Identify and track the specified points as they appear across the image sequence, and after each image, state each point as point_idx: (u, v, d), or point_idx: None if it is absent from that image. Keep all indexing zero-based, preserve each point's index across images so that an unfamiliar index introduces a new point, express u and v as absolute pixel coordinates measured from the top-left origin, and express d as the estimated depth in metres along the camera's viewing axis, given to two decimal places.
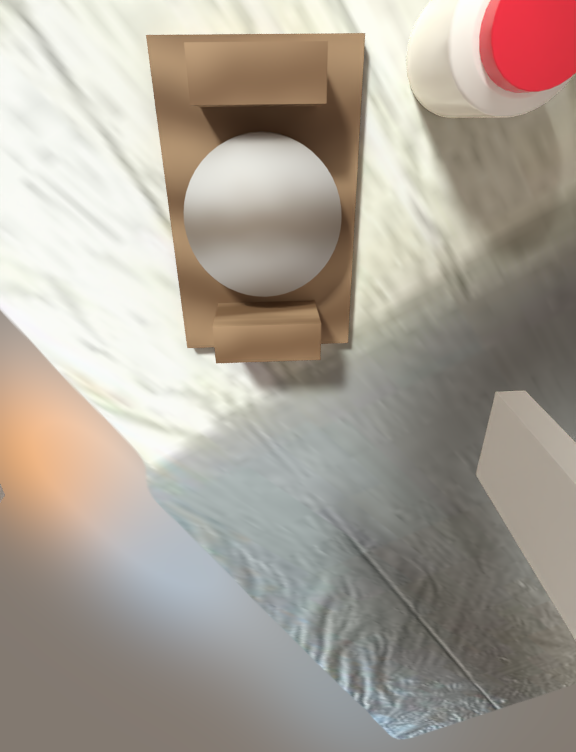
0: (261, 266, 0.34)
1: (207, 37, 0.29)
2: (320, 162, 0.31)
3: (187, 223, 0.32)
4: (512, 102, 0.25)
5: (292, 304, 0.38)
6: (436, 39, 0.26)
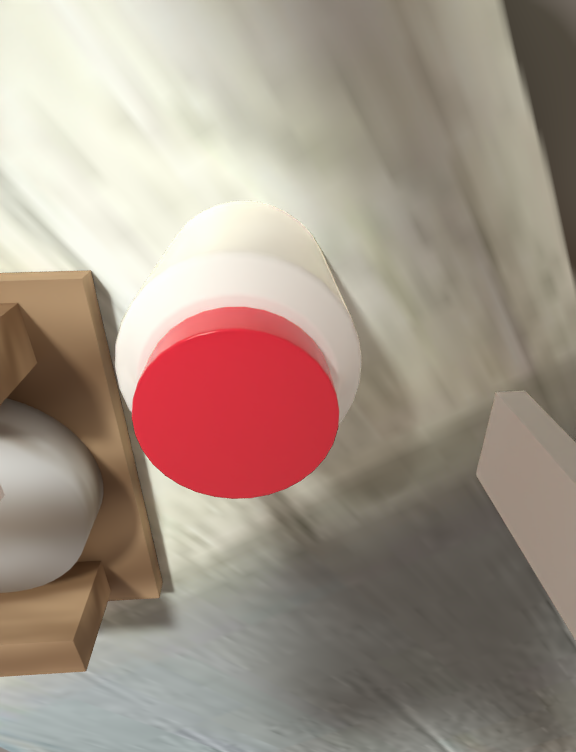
0: None
1: None
2: (28, 459, 0.21)
3: None
4: None
5: (65, 573, 0.28)
6: None
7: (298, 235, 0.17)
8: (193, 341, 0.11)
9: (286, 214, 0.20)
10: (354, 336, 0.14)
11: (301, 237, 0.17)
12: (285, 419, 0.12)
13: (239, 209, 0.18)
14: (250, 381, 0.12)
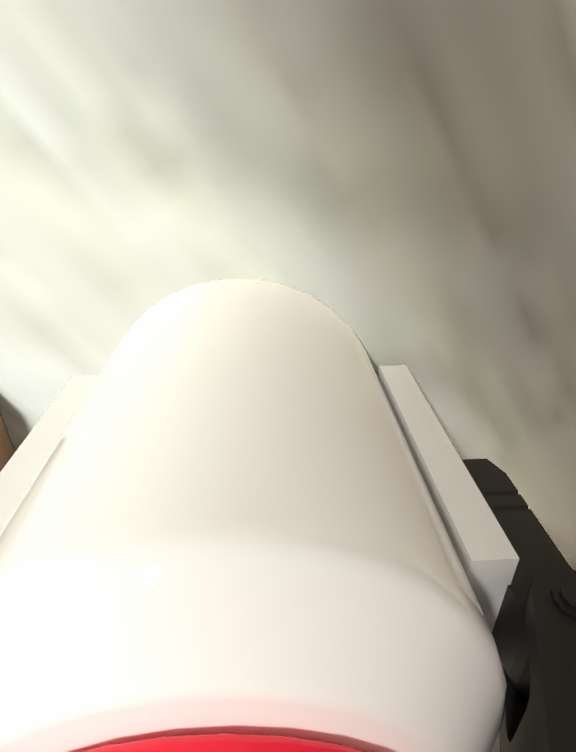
0: None
1: None
2: None
3: None
4: None
5: None
6: None
7: (341, 366, 0.09)
8: None
9: (311, 303, 0.11)
10: (500, 683, 0.06)
11: (346, 368, 0.09)
12: None
13: (229, 306, 0.10)
14: None
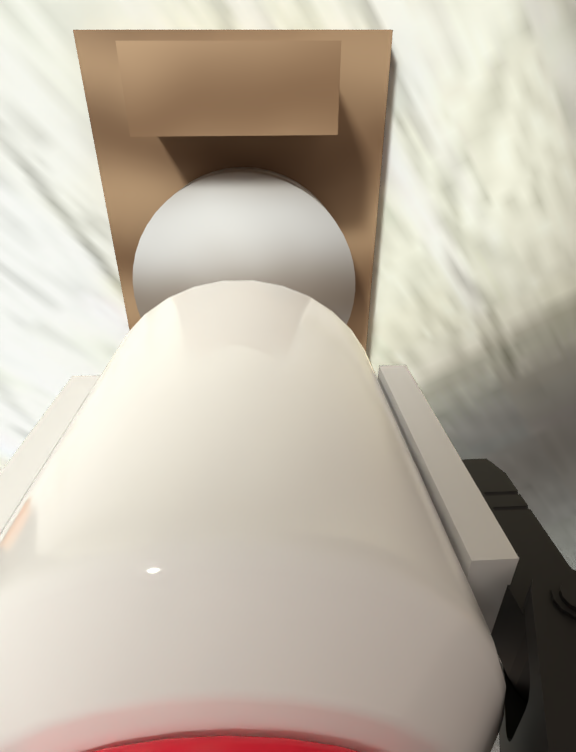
0: None
1: (163, 34, 0.20)
2: (326, 214, 0.21)
3: (138, 295, 0.23)
4: None
5: None
6: None
7: (341, 368, 0.09)
8: None
9: (312, 304, 0.11)
10: (500, 685, 0.06)
11: (346, 371, 0.09)
12: None
13: (230, 308, 0.10)
14: None
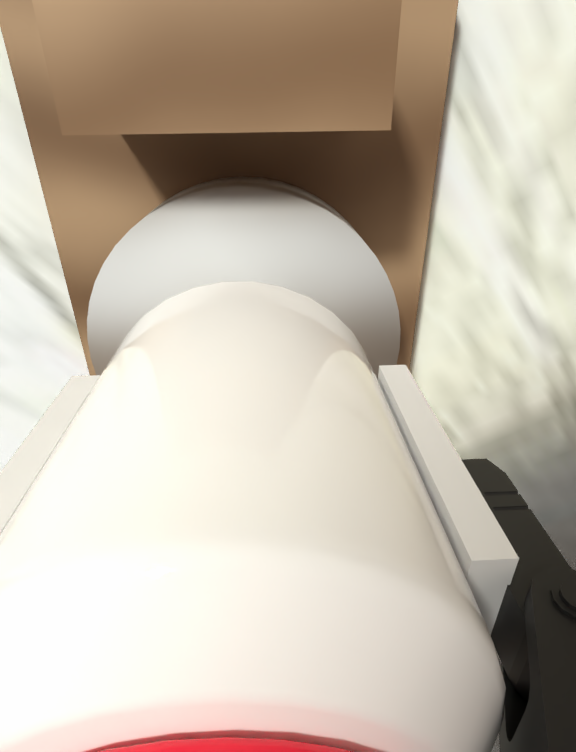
0: None
1: None
2: (363, 246, 0.15)
3: (97, 358, 0.16)
4: None
5: None
6: None
7: (341, 369, 0.09)
8: None
9: (311, 305, 0.11)
10: (499, 687, 0.06)
11: (346, 371, 0.09)
12: None
13: (230, 309, 0.10)
14: None
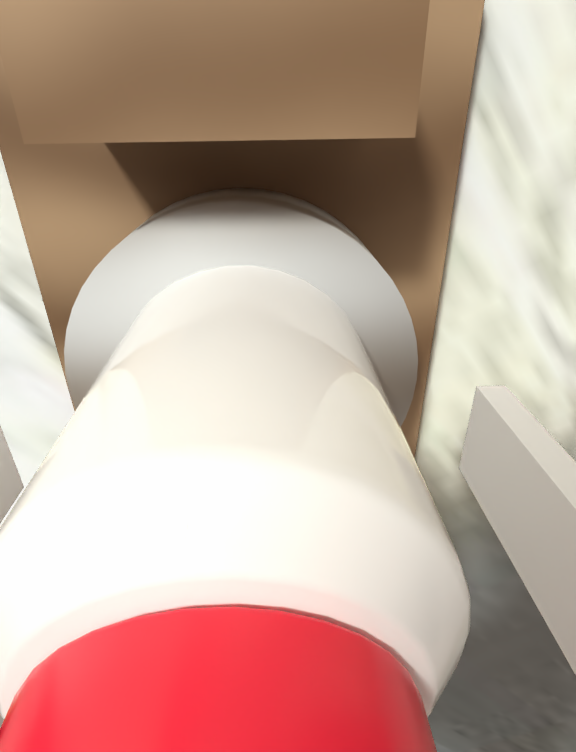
0: None
1: None
2: (378, 268, 0.13)
3: (76, 392, 0.14)
4: None
5: None
6: None
7: (332, 339, 0.10)
8: None
9: (307, 287, 0.12)
10: (464, 595, 0.07)
11: (337, 342, 0.10)
12: None
13: (232, 288, 0.11)
14: None
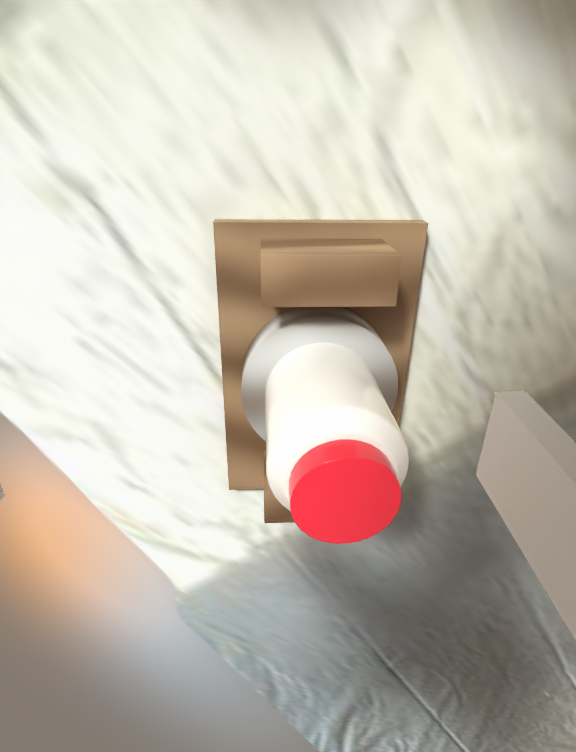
0: None
1: (273, 225, 0.30)
2: (381, 344, 0.31)
3: (244, 395, 0.32)
4: None
5: None
6: None
7: (365, 376, 0.28)
8: (331, 463, 0.21)
9: (352, 352, 0.30)
10: (406, 450, 0.24)
11: (367, 377, 0.28)
12: (372, 501, 0.22)
13: (326, 355, 0.29)
14: (356, 482, 0.22)
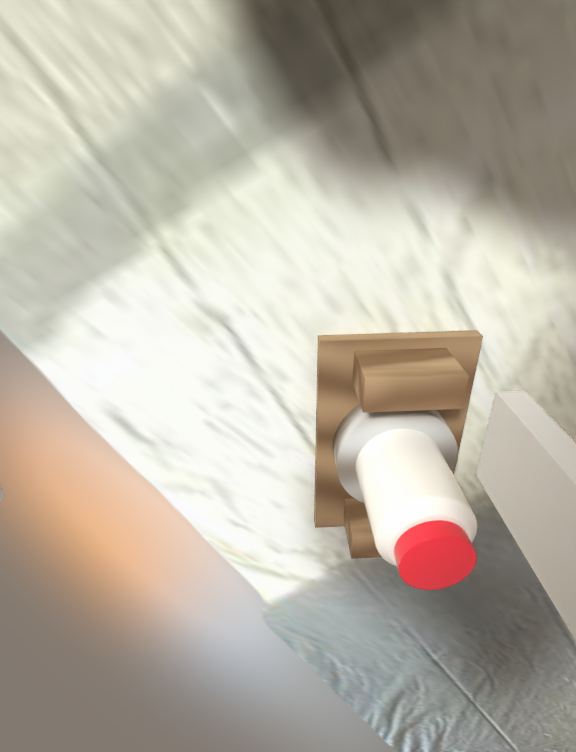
0: None
1: (364, 341, 0.39)
2: (446, 428, 0.40)
3: (339, 465, 0.42)
4: None
5: None
6: (369, 515, 0.36)
7: (440, 460, 0.37)
8: (430, 541, 0.31)
9: (425, 436, 0.40)
10: (476, 522, 0.34)
11: (441, 460, 0.37)
12: (456, 562, 0.32)
13: (408, 442, 0.38)
14: (446, 551, 0.32)
